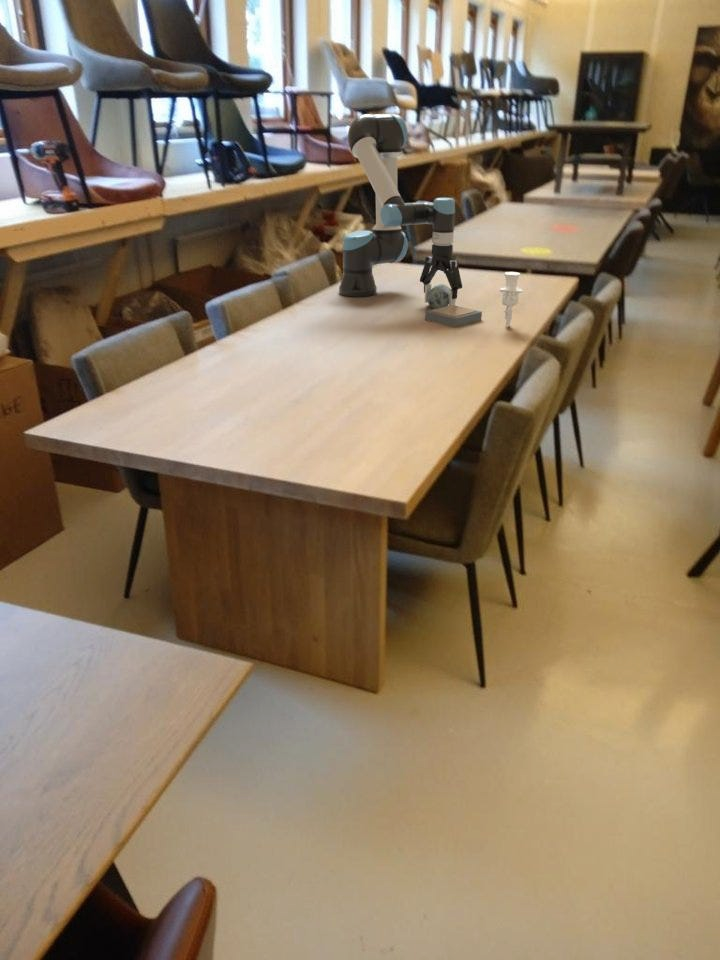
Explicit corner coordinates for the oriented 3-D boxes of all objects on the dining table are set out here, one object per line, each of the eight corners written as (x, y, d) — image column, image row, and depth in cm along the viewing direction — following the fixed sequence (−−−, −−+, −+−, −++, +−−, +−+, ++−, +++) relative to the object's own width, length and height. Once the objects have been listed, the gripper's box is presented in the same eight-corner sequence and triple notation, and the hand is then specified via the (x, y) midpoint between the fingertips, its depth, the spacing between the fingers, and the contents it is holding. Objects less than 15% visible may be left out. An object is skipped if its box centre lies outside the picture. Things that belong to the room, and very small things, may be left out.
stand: (424, 319, 263) (425, 310, 261) (450, 313, 272) (451, 303, 270) (455, 327, 254) (456, 317, 252) (481, 320, 263) (481, 310, 261)
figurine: (498, 322, 260) (503, 269, 252) (520, 324, 257) (526, 271, 249) (493, 330, 251) (498, 275, 243) (516, 332, 249) (521, 277, 241)
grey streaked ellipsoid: (453, 304, 269) (443, 278, 268) (429, 315, 272) (419, 289, 272) (460, 305, 282) (450, 280, 281) (437, 315, 285) (427, 291, 285)
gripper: (411, 241, 274) (409, 301, 283) (461, 249, 258) (457, 312, 268) (424, 239, 278) (422, 297, 288) (475, 246, 263) (470, 308, 273)
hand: (439, 304), depth 278 cm, fingers closed on grey streaked ellipsoid, 11 cm apart
